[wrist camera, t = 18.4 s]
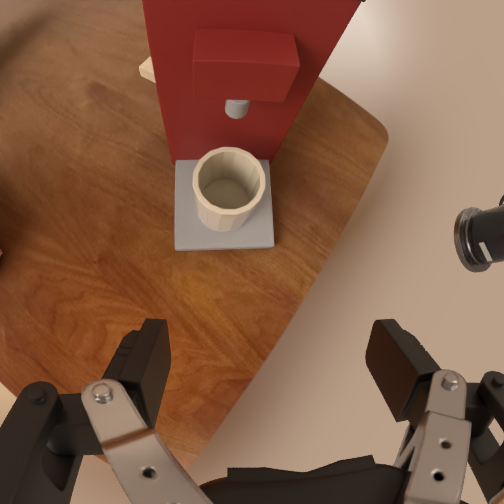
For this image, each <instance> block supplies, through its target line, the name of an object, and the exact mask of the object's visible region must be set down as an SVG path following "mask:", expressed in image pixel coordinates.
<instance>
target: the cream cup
mask: <svg viewBox="0 0 504 504" xmlns="http://www.w3.org/2000/svg"><path fill="white" fill-rule="evenodd" d="M192 185H193V195H194V204H195V209H196V212H197V215H198V217H199V219H200V220H201V221H202V223H203V224H204V225H206V226H207V227H208V228H210V229H212V230H215V231H219V232H228V231H233V230H235V229H238V228H239V227H241V226H242V225H243V224H244V223H245V222H246V221H247V220H248V219H249V217H250V216H251V214H252V213H253V211H254V209H255V208H256V206H257V204H258V203H259V201H260V200H261V197H262V195H263V193H264V190H265V187H266V185H265V173H264V170H263V168H262V166H261V164H260V162H259V161H258V160H257V159H256V158H255V157H254V156H253V155H252V154H251V153H249V152H247V151H245V150H242V149H240V148H237V147H221V148H218V149H215V150H212V151H209V152H208V153H207V154H206V155H205V156H203V157H202V158H201V159H200V160H199V161H198V163H197V165H196V167H195V169H194V171H193V183H192Z"/></svg>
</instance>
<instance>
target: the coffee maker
mask: <svg viewBox="0 0 504 504" xmlns="http://www.w3.org/2000/svg"><path fill="white" fill-rule="evenodd" d="M361 1H362V2H365V0H142V2H143V10H144V16H145V23H146V30H147V36H148V42H149V48H150V54H151V60H152V65H153V71H154V76H155V82H156V87H157V92H158V97H159V103H160V108H161V112H162V117H163V122H164V127H165V132H166V136H167V141H168V145H169V150H170V154H171V159H172V163H173V165H176V172H175V250H176V251H194V250H228V249H263V248H273V247H274V231H273V214H272V199H271V184H270V170H269V164H271V162H272V160H273V158H274V156H275V154H276V152H277V151H278V149H279V147H280V145H281V143H282V141H283V139H284V138H285V136H286V134H287V132H288V130H289V128H290V127H291V125H292V123H293V121H294V119H295V117H296V116H297V114H298V112H299V110H300V108H301V107H302V105H303V103H304V101H305V99H306V97H307V96H308V94H309V92H310V90H311V88H312V87H313V85H314V83H315V81H316V80H317V78H318V76H319V74H320V72H321V70H322V69H323V67H324V65H325V64H326V62H327V60H328V58H329V56H330V55H331V53H332V51H333V49H334V48H335V46H336V44H337V42H338V41H339V39H340V37H341V36H342V34H343V32H344V30H345V29H346V27H347V25H348V24H349V22H350V20H351V18H352V17H353V15H354V13H355V11H356V10H357V8H358V6H359V5H360V3H361ZM221 147H237V148H240V149H242V150H245V151H247V152H249V153H251V154H252V155H253V156H254V157H255V158H256V159H257V160H258V161H259V162H260V164H261V166H262V168H263V170H264V173H265V185H266V187H265V190H264V193H263V195H262V197H261V200H260V201H259V203H258V204H257V206H256V208H255V209H254V211H253V213H252V214H251V216H250V217H249V219H248V220H247V221H246V222H245V223H244V224H243V225H242V226H241V227H239V228H238V229H235V230H233V231H228V232H219V231H215V230H212V229H210V228H208V227H207V226H206V225H204V224H203V223H202V221H201V220H200V219H199V217H198V215H197V212H196V209H195V204H194V195H193V185H192V183H193V171H194V169H195V167H196V165H197V163H198V161H199V160H200V159H201V158H202V157H203V156H205V155H206V154H207V153H208V152H209V151H212V150H215V149H218V148H221Z"/></svg>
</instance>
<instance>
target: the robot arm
mask: <svg viewBox="0 0 504 504" xmlns="http://www.w3.org/2000/svg"><path fill="white" fill-rule="evenodd" d="M503 201H504V195H503V197H502V198H501V200H500V203H499V206H498V207H495V208H492V209H489V210H485V211H482V212H479V213H474V214H471V215H470V216H469V217H468V218H467V220H466V223H465V227H464V240H465V245H466V249H467V252H468V254H469V256H470V257H471V259H472V260H473V261H474V262H475V263H476V264H479V265H484V264H488V263H495V262H502V261H504V204H503V205H502V203H503ZM365 358H366V365H367V367H368V369H369V371H370V372H371V374H372V376H373V378H374V380H375V382H376V384H377V386H378V388H379V390H380V391H381V393H382V395H383V397H384V399H385V401H386V403H387V405H388V407H389V408H390V411H391V413H392V415H393V416H394V418H395V420H396V422H400V421H405V420H408V421H409V422H410V423H409V425H408V427H407V429H406V432H405V435H404V438H403V441H402V444H401V447H400V450H399V452H398V455H397V458H396V460H395V463H394V465H393V466H390V465H386V464H375V462H374V459H373V456H372V455H368V456H363V457H358V458H352V459H346V460H340V461H337V462H334V463H332V464H329V465H326V466H324V467H320V468H318V469H315V470H312V471H308V472H294V471H287V470H279V469H272V468H266V467H261V468H228V475H227V477H224V478H219V479H216V480H212V481H209V482H207V483H204V484H202V485H200V486H198V485H197V484H196V483H195V482H194V481H193V480H192V478H191V477H190V476H189V475H188V473H187V472H186V471H185V470H184V468H183V467H182V466H181V464H180V463H179V462H178V461H177V459H176V458H175V457H174V455H173V454H172V453H171V451H170V450H169V449H168V447H167V446H166V445H165V443H164V442H163V440H162V439H161V438H160V436H159V435H158V433H157V432H156V431H155V430H154V428H155V424H156V420H157V416H158V412H159V408H160V404H161V400H162V396H163V392H164V389H165V385H166V381H167V378H168V374H169V370H170V365H171V351H170V343H169V335H168V326H167V321H166V320H165V319H149V318H147V319H145V321H144V323H143V325H142V327H141V329H140V331H136V330H132V331H131V332H130V333H128V334H127V335H126V336H125V337H123V339H122V341H121V343H120V345H119V348H117V350H116V352H115V355H114V356H113V358H112V360H111V362H110V363H109V365H108V367H107V369H106V371H105V373H104V375H103V377H102V379H98V380H95V381H92V382H90V383H89V384H87V385H86V386H85V387H84V389H83V390H82V393H78V394H58V392H57V389H56V388H55V387H54V385H52V384H50V383H48V382H35V383H32V384H30V385H28V386H26V387H25V388H24V389H23V390H22V392H21V393H20V395H19V396H18V398H17V400H16V401H15V403H14V405H13V406H12V408H11V410H10V411H9V413H8V415H7V417H6V418H5V420H4V422H3V424H2V425H1V427H0V504H70V500H71V496H72V492H73V488H74V485H75V482H76V478H77V475H78V471H79V468H80V465H81V462H82V458H83V455H98V454H105V456H106V458H107V460H108V462H109V464H110V466H111V468H112V470H113V472H114V474H115V475H116V477H117V479H118V481H119V483H120V484H121V486H122V488H123V490H124V492H125V493H126V495H127V497H128V498H129V500H130V502H131V503H132V504H468V503H466V502H464V501H462V500H460V498H461V493H462V489H463V484H464V478H465V473H466V467H467V461H468V463H469V465H470V467H471V469H472V471H473V473H474V475H475V477H476V479H477V481H478V484H479V486H480V488H481V490H482V492H483V494H484V496H485V498H486V501H487V503H488V504H504V441H503V443H502V445H501V446H499V444H498V442H497V441H496V439H495V437H494V436H493V434H492V433H491V431H490V430H489V428H488V427H489V425H490V424H491V422H492V421H493V419H494V418H495V419H496V421H497V422H498V424H499V425H500V427H501V428H502V430H503V432H504V374H502V373H500V372H495V371H489V372H487V373H485V374H484V377H483V378H482V380H481V382H480V383H466V381H465V379H464V378H463V377H462V376H461V375H460V374H458V373H457V372H455V371H452V370H442V369H441V368H440V367H439V366H438V364H437V363H436V362H435V361H434V359H433V358H432V357H431V356H430V355H429V353H428V352H427V351H425V348H424V347H423V346H422V345H420V342H419V341H418V340H417V339H416V338H415V336H413V335H412V334H410V333H409V332H407V331H406V330H403V329H402V328H401V327H400V326H399V324H398V323H397V322H396V321H395V320H394V319H383V320H376V321H375V322H374V324H373V327H372V331H371V335H370V339H369V343H368V346H367V350H366V356H365Z"/></svg>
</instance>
